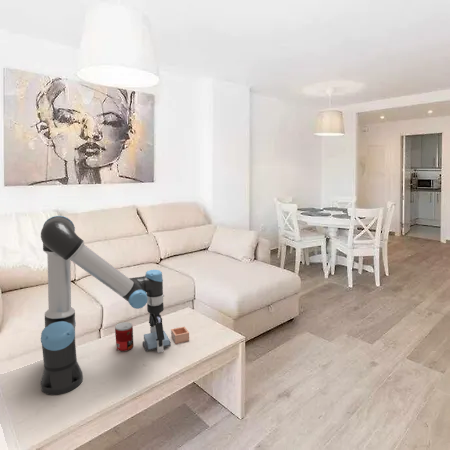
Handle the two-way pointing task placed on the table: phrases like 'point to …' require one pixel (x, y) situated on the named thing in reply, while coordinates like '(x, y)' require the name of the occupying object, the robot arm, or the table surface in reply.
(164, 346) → the block
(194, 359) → the table surface
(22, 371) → the table surface
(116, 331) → the canned food
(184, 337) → the open box
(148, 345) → the blue square slab
